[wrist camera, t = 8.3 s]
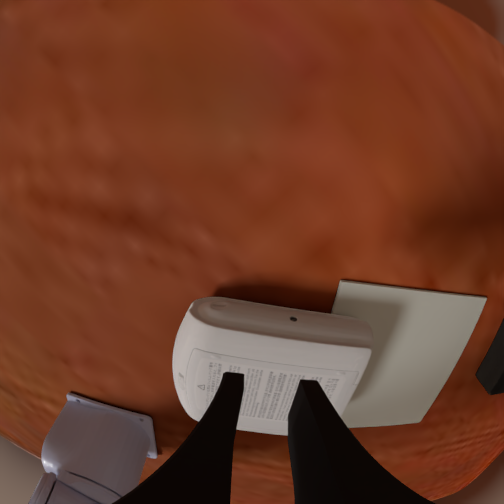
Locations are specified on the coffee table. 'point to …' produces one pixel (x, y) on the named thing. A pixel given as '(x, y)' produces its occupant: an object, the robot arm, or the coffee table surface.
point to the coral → (493, 365)
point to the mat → (405, 348)
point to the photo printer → (266, 357)
